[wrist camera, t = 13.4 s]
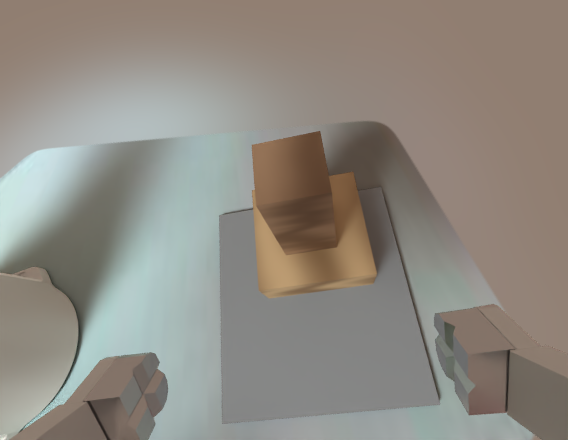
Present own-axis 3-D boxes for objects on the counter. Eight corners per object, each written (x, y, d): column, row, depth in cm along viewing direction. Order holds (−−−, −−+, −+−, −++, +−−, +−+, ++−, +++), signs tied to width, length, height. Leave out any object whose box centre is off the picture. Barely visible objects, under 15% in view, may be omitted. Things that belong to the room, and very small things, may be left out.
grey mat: (224, 422, 27) (222, 423, 26) (221, 217, 35) (219, 215, 35) (438, 403, 25) (440, 404, 24) (380, 189, 33) (380, 186, 32)
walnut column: (286, 255, 27) (256, 205, 18) (281, 210, 29) (251, 144, 20) (336, 247, 27) (331, 192, 18) (328, 201, 28) (320, 131, 19)
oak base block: (269, 298, 30) (258, 290, 26) (261, 207, 34) (252, 190, 30) (373, 284, 29) (377, 273, 25) (352, 191, 33) (353, 171, 29)
